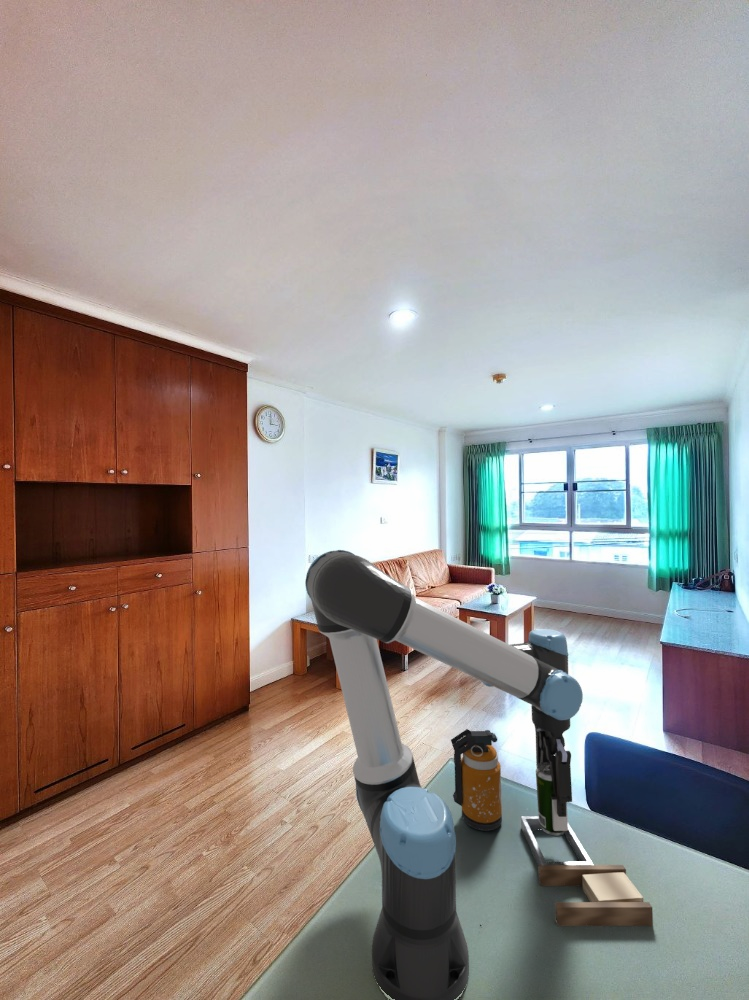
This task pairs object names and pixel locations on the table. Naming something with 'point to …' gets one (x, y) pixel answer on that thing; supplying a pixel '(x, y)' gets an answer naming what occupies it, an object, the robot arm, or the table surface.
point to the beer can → (545, 798)
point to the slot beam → (592, 910)
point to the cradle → (533, 824)
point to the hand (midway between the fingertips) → (554, 818)
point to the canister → (478, 779)
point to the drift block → (610, 888)
